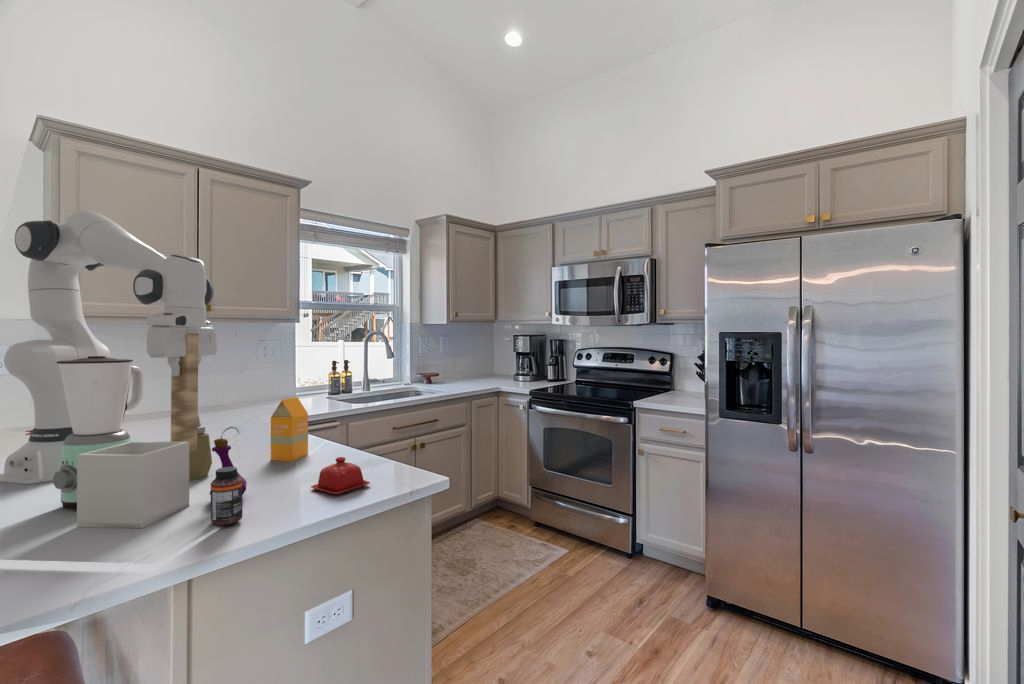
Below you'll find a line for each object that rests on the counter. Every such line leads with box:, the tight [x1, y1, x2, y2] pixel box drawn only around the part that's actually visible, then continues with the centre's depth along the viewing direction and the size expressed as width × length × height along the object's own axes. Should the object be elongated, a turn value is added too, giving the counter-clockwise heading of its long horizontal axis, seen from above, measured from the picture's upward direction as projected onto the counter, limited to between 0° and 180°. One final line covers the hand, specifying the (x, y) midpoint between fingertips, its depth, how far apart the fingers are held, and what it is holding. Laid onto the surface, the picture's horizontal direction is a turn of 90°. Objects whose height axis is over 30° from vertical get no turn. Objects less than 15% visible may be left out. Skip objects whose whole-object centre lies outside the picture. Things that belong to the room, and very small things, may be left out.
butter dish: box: [310, 456, 370, 495], centre depth 130 cm, size 12×12×8 cm
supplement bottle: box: [210, 466, 243, 526], centre depth 106 cm, size 6×6×11 cm
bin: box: [76, 440, 190, 529], centre depth 109 cm, size 14×14×15 cm
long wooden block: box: [170, 333, 199, 452], centre depth 124 cm, size 4×4×30 cm
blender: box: [52, 356, 144, 508], centre depth 119 cm, size 19×13×35 cm
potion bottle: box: [209, 425, 247, 496], centre depth 120 cm, size 8×8×18 cm
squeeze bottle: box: [189, 415, 213, 481], centre depth 140 cm, size 8×8×18 cm
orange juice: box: [270, 396, 309, 462], centre depth 161 cm, size 8×9×20 cm
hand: (184, 374), depth 124 cm, fingers closed on long wooden block, 4 cm apart
